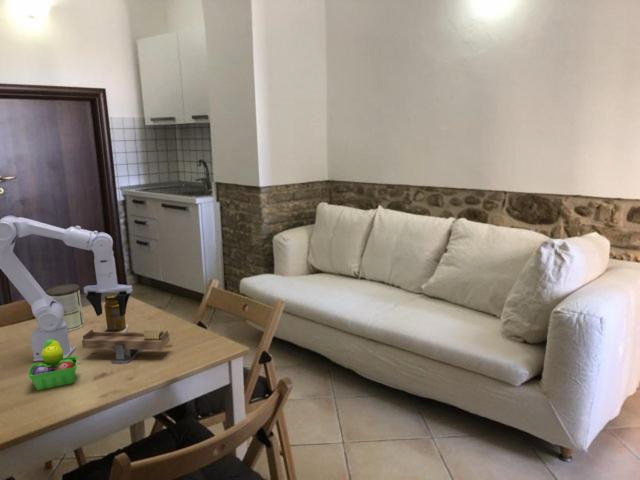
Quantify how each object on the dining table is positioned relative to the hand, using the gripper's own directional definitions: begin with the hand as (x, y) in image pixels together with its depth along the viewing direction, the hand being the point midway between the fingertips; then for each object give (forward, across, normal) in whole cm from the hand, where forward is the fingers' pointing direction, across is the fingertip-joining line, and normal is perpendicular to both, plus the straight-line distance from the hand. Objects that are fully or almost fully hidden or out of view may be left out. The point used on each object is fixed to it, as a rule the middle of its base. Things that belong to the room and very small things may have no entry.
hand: (111, 314), depth 156 cm
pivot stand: (+10, +7, -7) cm, 14 cm away
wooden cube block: (+5, +16, -7) cm, 18 cm away
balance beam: (+7, +7, -7) cm, 12 cm away
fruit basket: (+11, -5, -23) cm, 26 cm away
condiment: (+11, -6, +13) cm, 18 cm away
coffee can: (+11, -25, +16) cm, 32 cm away
